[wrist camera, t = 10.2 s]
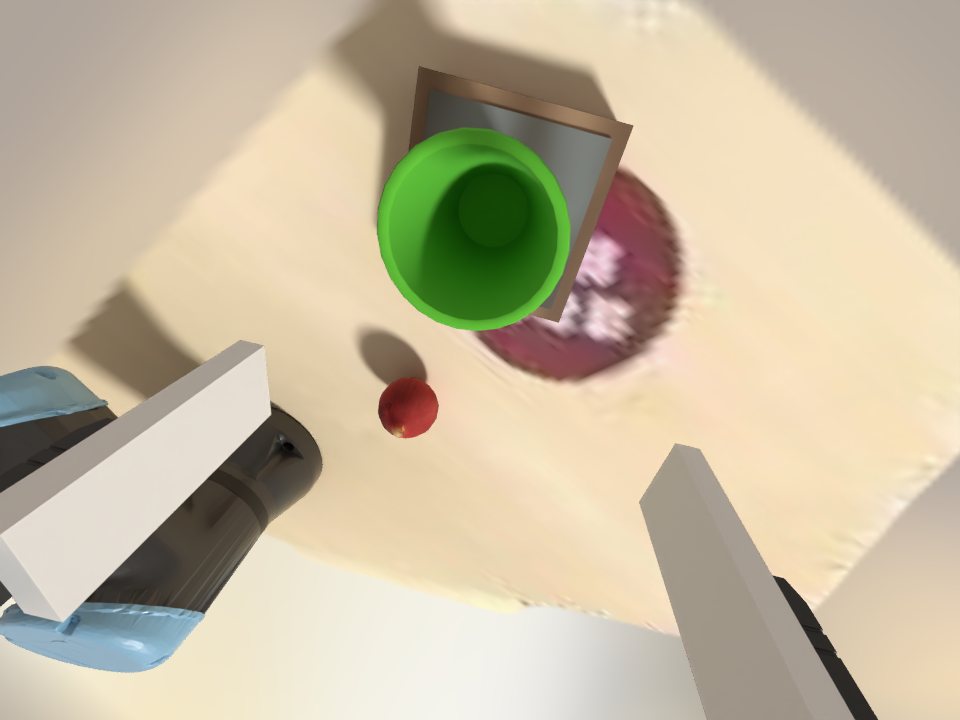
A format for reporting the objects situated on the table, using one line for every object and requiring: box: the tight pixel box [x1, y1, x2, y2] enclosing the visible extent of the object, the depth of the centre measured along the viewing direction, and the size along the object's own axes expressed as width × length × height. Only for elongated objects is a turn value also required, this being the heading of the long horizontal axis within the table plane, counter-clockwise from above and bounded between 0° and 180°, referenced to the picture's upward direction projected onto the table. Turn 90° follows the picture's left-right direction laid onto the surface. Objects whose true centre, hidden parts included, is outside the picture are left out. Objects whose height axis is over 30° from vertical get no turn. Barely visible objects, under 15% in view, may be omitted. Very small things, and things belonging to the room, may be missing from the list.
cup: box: [377, 127, 571, 331], centre depth 22 cm, size 9×9×11 cm
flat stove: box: [409, 66, 633, 323], centre depth 29 cm, size 14×14×4 cm
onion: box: [378, 378, 439, 438], centre depth 37 cm, size 6×6×8 cm
